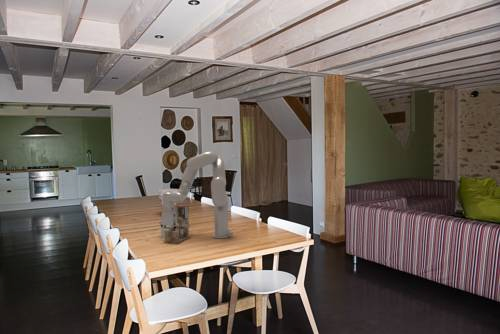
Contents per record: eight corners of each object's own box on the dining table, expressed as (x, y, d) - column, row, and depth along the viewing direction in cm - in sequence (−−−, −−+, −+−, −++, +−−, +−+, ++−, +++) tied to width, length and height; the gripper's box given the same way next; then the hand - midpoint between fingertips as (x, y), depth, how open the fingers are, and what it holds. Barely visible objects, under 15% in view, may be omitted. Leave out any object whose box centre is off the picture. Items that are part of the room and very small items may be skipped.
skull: (156, 214, 340) (155, 189, 339) (175, 212, 349) (175, 188, 348) (163, 218, 318) (162, 192, 317) (184, 216, 327) (183, 191, 326)
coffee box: (189, 226, 288) (188, 205, 287) (185, 228, 282) (185, 207, 281) (178, 225, 291) (178, 205, 290) (174, 227, 284) (174, 206, 283)
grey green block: (176, 235, 260) (176, 226, 260) (168, 238, 251) (168, 229, 250) (169, 234, 262) (169, 226, 262) (161, 237, 253) (161, 229, 253)
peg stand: (190, 238, 251) (189, 226, 251) (178, 244, 236) (177, 232, 236) (176, 236, 255) (176, 225, 254) (163, 242, 240) (163, 230, 239)
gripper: (182, 209, 256) (182, 234, 257) (161, 207, 262) (161, 232, 263) (176, 211, 249) (177, 237, 250) (154, 209, 255) (155, 235, 256)
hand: (169, 234), depth 257 cm, fingers closed on grey green block, 6 cm apart
